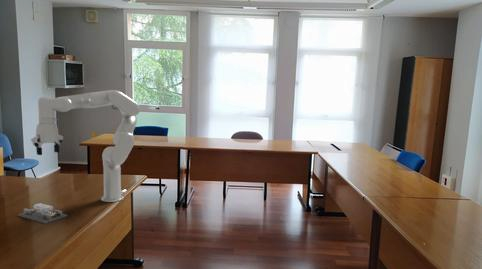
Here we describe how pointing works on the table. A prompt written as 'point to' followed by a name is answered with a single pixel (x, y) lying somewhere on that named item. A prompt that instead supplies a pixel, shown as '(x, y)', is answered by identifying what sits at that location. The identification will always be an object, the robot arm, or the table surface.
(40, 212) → the tall grey pillar block
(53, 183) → the table surface
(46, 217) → the twin roller tray
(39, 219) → the grey flat plate
